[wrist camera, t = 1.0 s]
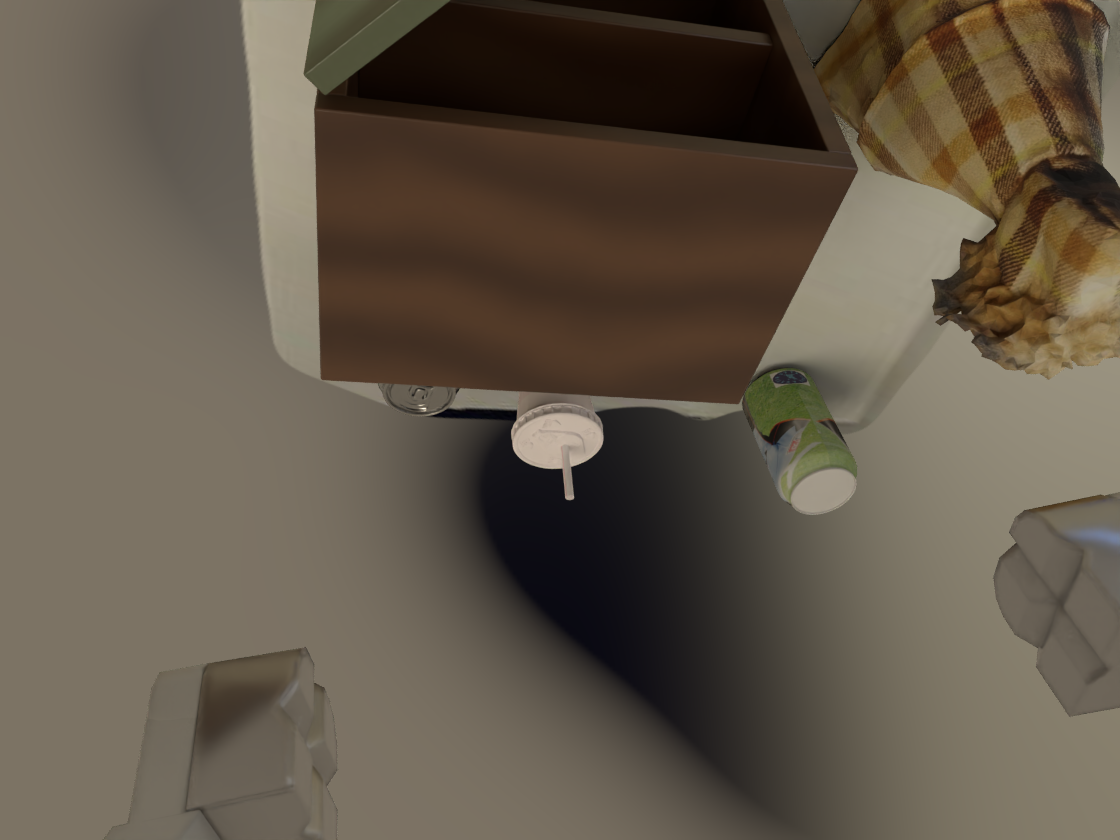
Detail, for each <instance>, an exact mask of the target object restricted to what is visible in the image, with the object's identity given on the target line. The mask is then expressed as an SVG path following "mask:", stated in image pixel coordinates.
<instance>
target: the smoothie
mask: <svg viewBox="0 0 1120 840" xmlns="http://www.w3.org/2000/svg"><path fill="white" fill-rule="evenodd" d="M602 430H603V426H602V423H601V420H600V418H599V417H598V416H597V415H596V414H595V413H594V409H593V405H592V402H591V399H590V396H589V395H572V394H554V393H537V392H520V391H519V401H518V411H517V421H516V422H515V423H514V425H513V428H512V430H511V436H512V441H513V448H514V451H515V453H516V454H517V456H518V457H519V458H521V459H522V460H523V461H525V462H527V463H529V464H531V465H534V466H537V467H541V468H551V469H556V468H563V476H564V486H565V497H566V499H567V500H571V499H573V498H574V493H573V484H572V474H571V466H575V465H578V464H580V463H583V462H585V461H586V460H588V459H590V458H591V457H593V456H594V455H595V454H596V453H597V452H598V451H599V449H600V447H601V446H602V443H603V431H602Z"/></svg>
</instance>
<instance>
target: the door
mask: <svg viewBox="0 0 1120 840" xmlns="http://www.w3.org/2000/svg"><path fill="white" fill-rule="evenodd" d="M449 1H450V0H316V4H315V10H314V15H313V21H312V27H311V33H310V39H309V45H308V51H307V57H306V63H305V69H304V76H305V77H306V78H307V79H308V80H310V81H311V82H312V83H313V84H314V85H315V86H316V87H317V88H318V89H319V90H320V91H321V92H322V93H323V94H324V95H327V94H328V93H329V92H331V91H332V90H333V89H334V88H336V87H337V86H338V85H340V84H341V83H342V82H344V81H345V80H346V79H348V78H349V77H350V76H352V75H353V74H354V73H356V72H357V71H358V70H360V69H361V68H362V67H363V66H365V65H366V64H367V63H369V62H370V61H371V60H373V59H374V58H375V57H377V56H378V55H379V54H381V53H382V52H383V51H385V50H386V49H387V48H389V47H390V46H391V45H392V44H394V43H395V42H396V41H398V40H399V39H400V38H402V37H403V36H404V35H406V34H407V33H408V32H410V31H411V30H412V29H414V28H415V27H416V26H417V25H419V24H420V23H421V22H423V21H424V20H425V19H427V18H428V17H429V16H431V15H432V14H433V13H435V12H436V11H437V10H439V9H440V8H441V7H443V6H444V5H445V4H446V3H448V2H449Z"/></svg>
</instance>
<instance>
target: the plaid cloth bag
mask: <svg viewBox="0 0 1120 840" xmlns="http://www.w3.org/2000/svg"><path fill="white" fill-rule="evenodd" d="M1109 29H1110V26H1109V24H1108V22H1107V19H1106V17H1105V15H1104V12H1103V11H1102V10H1101V9H1100V8H1099V7H1097V6H1096V5H1095V4H1094V3H1093V2H1092V1H1090V0H861V2H860V4H859V5H858V7H857V8H856V10H855V12H854V13H853V14H852V16H851V18H850V20H849V23H848V25H847V26H846V27H845V30H844V31H843V32H842V34H841V35H840V36H839V37H838V38H837V39H836V41H835V43H834V44H833V45H832V46H831V47H830V48H829V49H828V50H827V51H826V53H825V54H824V56H823V58H822V59H821V60H820V61H819V63H818V64H817V65H816V67H815V68H814V71H815V74H816V76H817V78H818V80H819V82H820V85H821V87H822V89H823V91H824V94H825V96H826V98H827V100H828V102H829V105H830V107H831V109H832V111H833V113H834V114H837V115H838V116H840V117H841V118H842V119H843V120H844V121H845V122H846V123H847V124H848V125H849V126H850V127H852V128H854V129H855V130H856V131H857V132H858V133H859V135H858V139H857V143H858V145H859V147H860V148H861V150H862V152H863V154H864V155H865V157H866V158H867V160H868V161H869V163H870V164H871V166H872V167H873V169H874V170H875V171H883V172H885V173H887V174H889V175H895V176H898V177H901V178H905V179H908V180H911V181H914V182H917V183H921V184H924V185H928V186H931V187H934V188H937V189H940V190H942V191H944V192H946V193H949V194H951V195H953V196H956V197H958V198H959V199H961V200H962V201H964V202H966V203H967V204H969V205H971V206H972V207H974V208H975V209H977V210H979V211H980V212H982V213H983V214H985V215H987V216H988V217H990V218H991V219H993V220H994V222H995V224H996V225H997V226H996V227H995V228H994V229H993V230H992V231H990V232H989V233H988V234H987V235H986V236H985V237H984V238H983V239H982V240H980V241H979V242H978V243H977V242H974V241H971V240H968V239H965V238H963V240H962V243H961V247H960V269H959V270H958V271H957V272H956V273H955V274H954V275H953V276H952V277H950V278H947V279H945V280H939V279H932V282H933V286H934V291H935V302H934V304H933V306H932V307H933V310H934V315H941V316H943V317H942V318H941V319H939V320H938V321H936V323H937V324H939V325H940V326H941V325H942V324H944V323H945V322H947V321H948V320H950V321H953V322H954V323H956V324H958V325H959V326H960V327H961V328H962V329H963V330H964V331H967V330H971V332H972V333H973V335H974V336H975V337H974V339H973V340H972V343H973V344H975V346H976V347H977V348H978V349H979V351H980V352H981V353H982V357H985V358H987V359H990V360H992V361H994V362H996V363H998V364H999V365H1001V366H1002V367H1003V368H1004V369H1007V370H1025V372H1026V373H1027V374H1038V373H1040V374H1041V375H1043V376H1044V377H1045V378H1047V379H1050V378H1052V377H1053V376H1055V375H1056V374H1058V373H1059V372H1060V371H1062V370H1063V369H1064V368H1065V367H1067V368H1070V369H1073V367H1072V361H1074V362H1075V363H1076V364H1077V365H1078V366H1094V365H1098V364H1099V363H1100V362H1101V360H1102V359H1105V358H1113V357H1119V358H1120V188H1119V186H1118V184H1117V182H1116V180H1115V179H1114V178H1113V177H1112V176H1111V174H1110V173H1109V172H1108V171H1107V170H1106V169H1105V168H1104V167H1103V164H1102V160H1103V154H1104V143H1103V128H1102V123H1101V88H1102V82H1103V62H1104V57H1105V51H1106V46H1107V41H1108V35H1109ZM960 311H961V313H962V314H957V313H959V312H960ZM1071 360H1072V361H1071Z"/></svg>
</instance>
